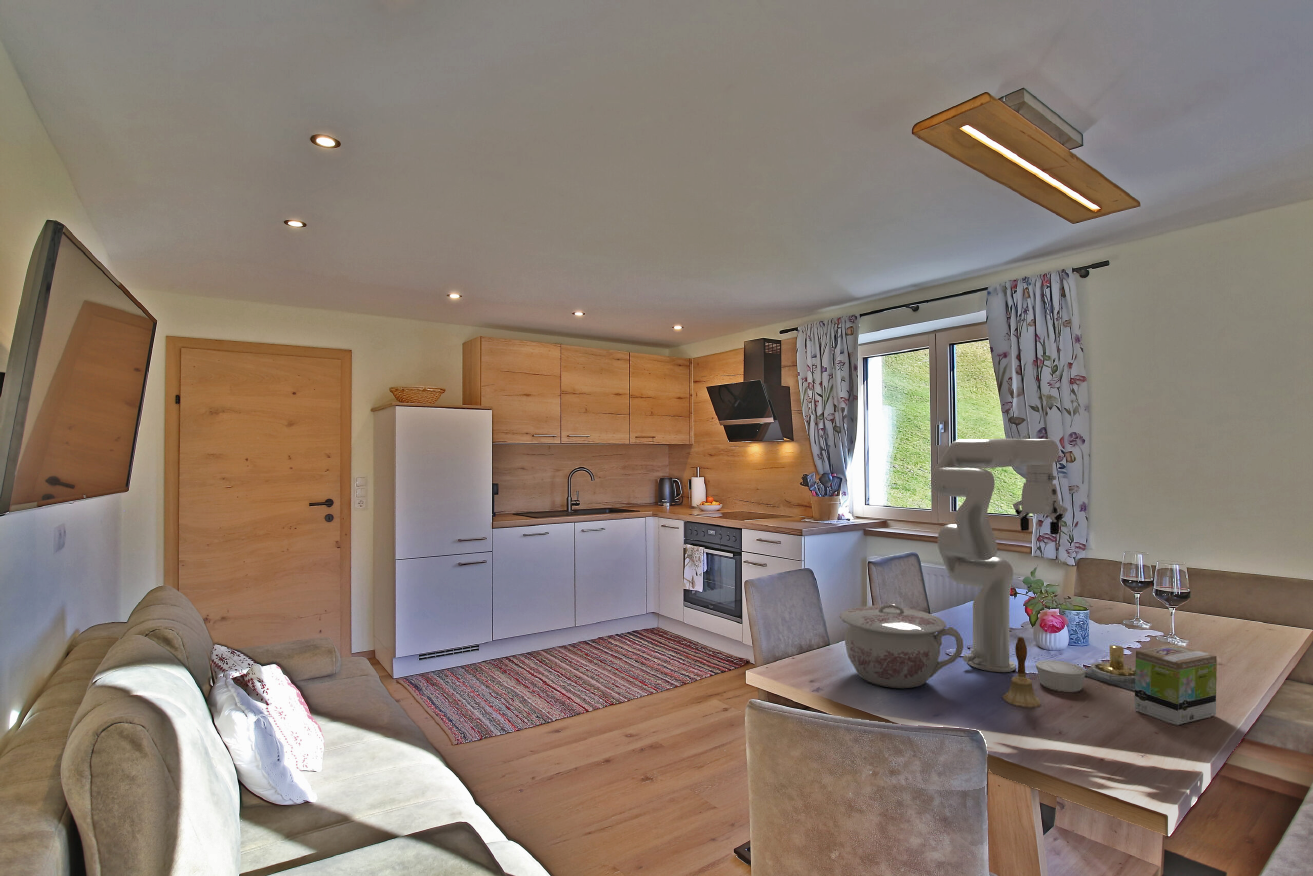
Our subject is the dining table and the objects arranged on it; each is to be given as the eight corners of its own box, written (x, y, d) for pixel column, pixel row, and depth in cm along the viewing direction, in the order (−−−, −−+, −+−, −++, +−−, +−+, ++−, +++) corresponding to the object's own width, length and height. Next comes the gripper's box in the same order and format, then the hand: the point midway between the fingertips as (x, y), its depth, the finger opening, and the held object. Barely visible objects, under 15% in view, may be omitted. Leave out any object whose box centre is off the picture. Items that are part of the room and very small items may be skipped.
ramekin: (1026, 682, 178) (1026, 662, 178) (1054, 676, 182) (1054, 657, 182) (1066, 697, 168) (1066, 676, 168) (1095, 690, 172) (1095, 670, 172)
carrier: (1149, 696, 168) (1149, 677, 168) (1081, 675, 183) (1081, 657, 183) (1175, 688, 174) (1175, 669, 174) (1106, 668, 189) (1106, 651, 189)
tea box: (1180, 727, 150) (1179, 662, 150) (1133, 711, 159) (1132, 649, 159) (1218, 716, 156) (1217, 654, 156) (1170, 701, 165) (1170, 642, 165)
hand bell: (1040, 710, 159) (1040, 644, 159) (1001, 703, 163) (1001, 638, 164) (1041, 699, 166) (1041, 635, 166) (1004, 692, 170) (1004, 630, 171)
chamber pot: (819, 669, 188) (819, 596, 188) (898, 659, 197) (897, 589, 197) (885, 706, 161) (885, 621, 161) (972, 692, 171) (972, 612, 171)
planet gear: (1124, 681, 175) (1124, 653, 175) (1092, 671, 183) (1092, 644, 183) (1141, 676, 179) (1141, 649, 179) (1109, 667, 186) (1109, 641, 186)
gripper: (1073, 479, 203) (1074, 535, 203) (1021, 477, 219) (1021, 528, 219) (1058, 480, 200) (1059, 536, 200) (1006, 477, 216) (1006, 529, 215)
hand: (1039, 532), depth 209 cm, fingers open, 9 cm apart
